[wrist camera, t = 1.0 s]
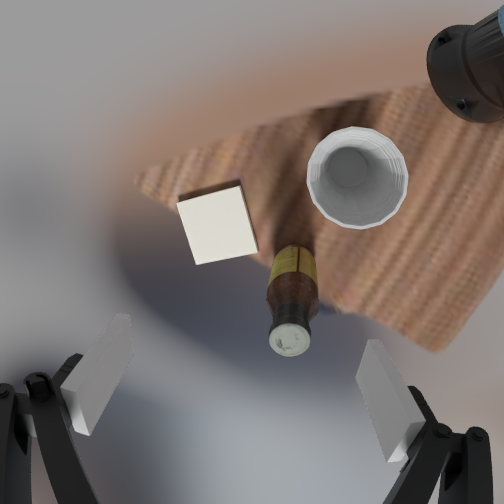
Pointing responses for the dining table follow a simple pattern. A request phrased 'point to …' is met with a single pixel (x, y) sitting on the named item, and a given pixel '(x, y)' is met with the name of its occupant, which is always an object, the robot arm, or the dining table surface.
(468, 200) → the dining table surface
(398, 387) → the robot arm
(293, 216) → the dining table surface
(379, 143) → the plastic cup
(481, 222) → the dining table surface
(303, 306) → the sauce bottle
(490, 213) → the dining table surface
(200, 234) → the cream pad
